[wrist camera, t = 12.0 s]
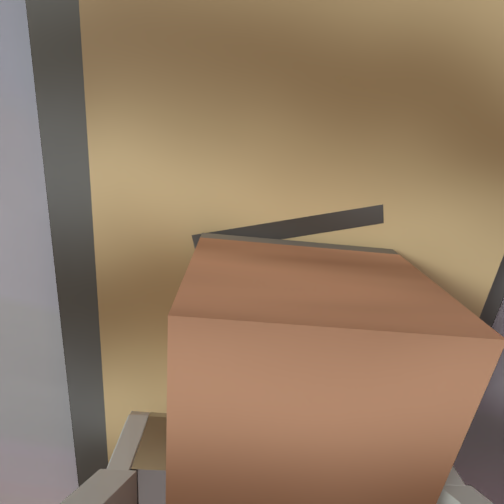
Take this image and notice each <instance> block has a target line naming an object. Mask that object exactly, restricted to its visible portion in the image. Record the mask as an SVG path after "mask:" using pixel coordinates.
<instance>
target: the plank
mask: <svg viewBox="0 0 504 504" xmlns="http://www.w3.org/2000/svg"><path fill="white" fill-rule="evenodd" d="M26 9H27V19H28V28H29V37H30V46H31V55H32V64H33V73H34V82H35V92H36V101H37V110H38V119H39V128H40V137H41V146H42V155H43V164H44V174H45V183H46V192H47V201H48V210H49V219H50V228H51V237H52V246H53V256H54V265H55V274H56V283H57V292H58V301H59V310H60V319H61V329H62V338H63V347H64V356H65V365H66V374H67V383H68V392H69V401H70V411H71V420H72V429H73V438H74V447H75V456H76V465H77V474H78V483H79V487H80V486H81V485H82V484H83V483H84V482H85V481H87V480H88V479H89V478H90V477H91V476H92V475H94V474H95V473H96V472H97V471H98V470H99V469H106V468H107V466H108V463H109V461H110V459H111V456H112V454H113V451H114V449H115V446H116V444H117V441H118V439H119V437H120V434H121V432H122V429H123V427H124V424H125V422H126V420H127V417H128V415H129V414H130V413H131V411H140V412H157V413H167V342H168V314H169V311H170V309H171V307H172V304H173V302H174V299H175V297H176V294H177V292H178V290H179V287H180V285H181V282H182V280H183V277H184V275H185V273H186V270H187V268H188V265H189V263H190V260H191V258H192V256H193V253H194V251H195V248H196V246H197V243H198V241H199V239H200V236H201V234H202V233H212V234H224V235H235V236H247V237H258V238H270V239H281V240H293V241H304V242H316V243H327V244H339V245H350V246H362V247H373V248H385V249H393V250H394V251H395V252H397V253H398V254H399V255H401V256H402V257H403V258H404V259H406V260H407V261H408V262H409V263H411V264H412V265H413V266H414V267H416V268H417V269H418V270H419V271H421V272H422V273H423V274H424V275H426V276H427V277H428V278H429V279H431V280H432V281H433V282H435V283H436V284H437V285H438V286H440V287H441V288H442V289H443V290H445V291H446V292H447V293H448V294H450V295H451V296H452V297H453V298H455V299H456V300H457V301H458V302H460V303H461V304H462V305H464V306H465V307H466V308H467V309H469V310H470V311H471V312H472V313H474V314H475V315H476V316H477V317H479V318H480V319H481V320H482V321H484V322H485V323H486V324H487V325H489V326H490V327H492V325H493V322H494V320H495V317H496V315H497V312H498V310H499V308H500V305H501V303H502V300H503V298H504V0H26Z"/></svg>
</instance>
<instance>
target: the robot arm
mask: <svg viewBox="0 0 504 504" xmlns="http://www.w3.org/2000/svg"><path fill="white" fill-rule="evenodd" d="M166 427H167V413H157V412H140V411H131V413H130V414H129V415H128V417H127V420H126V422H125V424H124V427H123V429H122V432H121V434H120V437H119V439H118V441H117V444H116V446H115V449H114V451H113V454H112V456H111V459H110V461H109V463H108V466H107V468H106V469H99V470H98V471H97V472H96V473H95V474H94V475H92V476H91V477H90V478H89V479H88V480H87V481H85V482H84V483H83V484H82V485H81V486H80V487H79V488H77V489H76V490H75V491H74V492H73V493H72V494H70V495H69V496H68V497H67V498H66V499H65V500H64V501H62V502H61V503H60V504H166ZM436 504H494V503H492V502H491V501H490V500H489V499H487V498H486V497H485V496H483V495H482V494H481V493H480V492H478V491H477V490H476V489H475V488H473V487H472V486H468V485H465V484H464V482H463V481H462V479H461V478H460V476H459V475H458V473H457V471H456V470H455V468H454V467H453V466H452V469H451V471H450V473H449V476H448V478H447V480H446V482H445V485H444V487H443V489H442V492H441V494H440V496H439V499H438V501H437V503H436Z"/></svg>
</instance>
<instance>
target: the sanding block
mask: <svg viewBox="0 0 504 504" xmlns="http://www.w3.org/2000/svg"><path fill="white" fill-rule="evenodd" d="M503 348H504V337H503V336H501V335H500V334H499V333H498V332H496V331H495V330H494V329H492V328H491V327H490V326H489V325H487V324H486V323H485V322H484V321H482V320H481V319H480V318H479V317H477V316H476V315H475V314H474V313H472V312H471V311H470V310H469V309H467V308H466V307H465V306H464V305H462V304H461V303H460V302H458V301H457V300H456V299H455V298H453V297H452V296H451V295H450V294H448V293H447V292H446V291H445V290H443V289H442V288H441V287H440V286H438V285H437V284H436V283H435V282H433V281H432V280H431V279H429V278H428V277H427V276H426V275H424V274H423V273H422V272H421V271H419V270H418V269H417V268H416V267H414V266H413V265H412V264H411V263H409V262H408V261H407V260H406V259H404V258H403V257H402V256H401V255H399V254H398V253H397V252H395V251H394V250H393V249H385V248H373V247H362V246H350V245H339V244H327V243H316V242H304V241H293V240H281V239H270V238H258V237H247V236H235V235H224V234H212V233H202V234H201V236H200V239H199V241H198V243H197V246H196V248H195V251H194V253H193V256H192V258H191V260H190V263H189V265H188V268H187V270H186V273H185V275H184V277H183V280H182V282H181V285H180V287H179V290H178V292H177V294H176V297H175V299H174V302H173V304H172V307H171V309H170V311H169V314H168V342H167V427H166V504H436V503H437V501H438V499H439V496H440V494H441V492H442V489H443V487H444V485H445V482H446V480H447V478H448V476H449V473H450V471H451V469H452V466H453V464H454V462H455V459H456V457H457V455H458V452H459V450H460V448H461V445H462V443H463V441H464V439H465V436H466V434H467V432H468V429H469V427H470V425H471V422H472V420H473V418H474V415H475V413H476V411H477V409H478V406H479V404H480V402H481V399H482V397H483V395H484V392H485V390H486V388H487V385H488V383H489V381H490V378H491V376H492V374H493V372H494V369H495V367H496V365H497V362H498V360H499V358H500V355H501V353H502V351H503Z"/></svg>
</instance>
